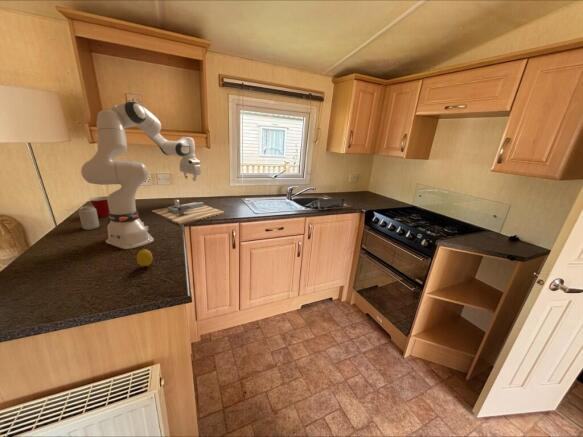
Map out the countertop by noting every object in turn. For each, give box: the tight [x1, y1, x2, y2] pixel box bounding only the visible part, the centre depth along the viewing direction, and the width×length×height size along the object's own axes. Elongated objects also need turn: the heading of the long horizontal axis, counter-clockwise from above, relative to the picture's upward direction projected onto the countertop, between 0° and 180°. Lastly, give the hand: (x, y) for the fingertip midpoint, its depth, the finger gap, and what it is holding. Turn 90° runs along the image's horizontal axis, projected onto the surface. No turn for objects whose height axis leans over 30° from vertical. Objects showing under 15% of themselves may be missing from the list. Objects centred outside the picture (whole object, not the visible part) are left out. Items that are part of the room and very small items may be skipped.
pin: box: [173, 198, 181, 209], centre depth 166 cm, size 3×3×8 cm
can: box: [78, 205, 100, 231], centre depth 132 cm, size 8×8×12 cm
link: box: [167, 201, 205, 213], centre depth 173 cm, size 24×9×2 cm, turn 145°
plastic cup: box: [89, 195, 109, 218], centre depth 151 cm, size 11×11×12 cm
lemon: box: [136, 248, 153, 267], centre depth 99 cm, size 6×6×8 cm
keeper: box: [178, 206, 190, 215], centre depth 161 cm, size 4×7×5 cm, turn 145°
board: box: [152, 201, 225, 226], centre depth 169 cm, size 34×34×2 cm
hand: (190, 179), depth 177 cm, fingers open, 8 cm apart
